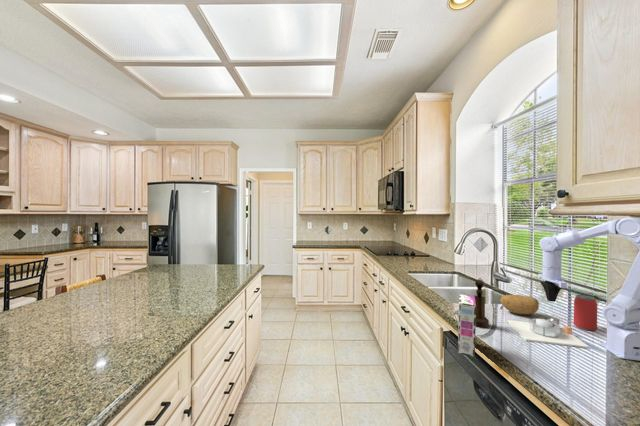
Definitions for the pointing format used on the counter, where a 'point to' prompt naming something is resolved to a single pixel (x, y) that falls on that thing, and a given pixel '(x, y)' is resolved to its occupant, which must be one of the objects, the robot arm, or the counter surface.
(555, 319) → the elbow collar
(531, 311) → the potato
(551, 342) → the base
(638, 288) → the robot arm
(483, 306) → the pepper mill
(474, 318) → the candy bar box
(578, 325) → the beer can
